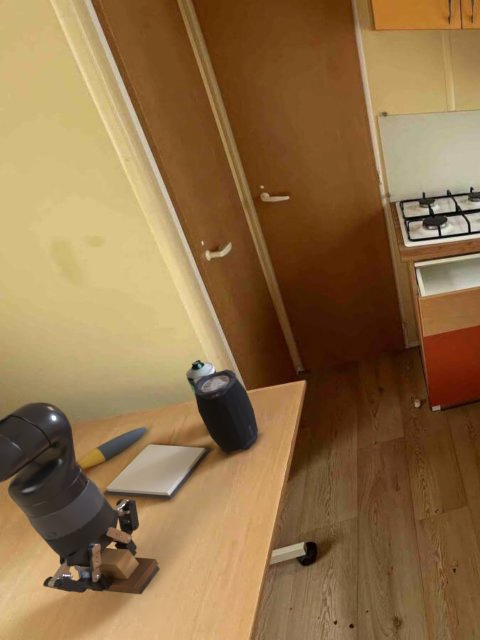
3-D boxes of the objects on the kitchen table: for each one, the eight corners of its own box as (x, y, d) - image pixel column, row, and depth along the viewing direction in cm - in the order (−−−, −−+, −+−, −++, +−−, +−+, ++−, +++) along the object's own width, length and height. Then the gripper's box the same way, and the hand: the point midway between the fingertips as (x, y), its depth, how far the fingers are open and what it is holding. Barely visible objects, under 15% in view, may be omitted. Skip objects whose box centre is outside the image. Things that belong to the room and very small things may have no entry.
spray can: (230, 429, 105) (203, 369, 96) (206, 432, 104) (176, 371, 95) (239, 412, 110) (214, 353, 101) (216, 415, 109) (189, 355, 100)
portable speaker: (211, 447, 101) (181, 386, 92) (250, 420, 108) (226, 361, 99) (230, 464, 97) (201, 402, 88) (269, 435, 104) (246, 375, 95)
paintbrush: (138, 426, 106) (130, 412, 103) (151, 433, 104) (143, 419, 102) (36, 497, 90) (23, 482, 87) (49, 506, 88) (36, 491, 86)
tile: (104, 494, 90) (101, 490, 90) (150, 446, 101) (148, 442, 100) (170, 499, 89) (167, 495, 89) (210, 450, 100) (208, 446, 99)
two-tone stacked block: (141, 596, 73) (123, 572, 69) (85, 590, 73) (64, 567, 70) (161, 567, 77) (145, 544, 73) (108, 563, 77) (90, 539, 74)
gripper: (92, 469, 72) (133, 527, 80) (-3, 560, 60) (56, 618, 68) (133, 472, 72) (170, 530, 80) (46, 564, 59) (99, 623, 67)
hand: (117, 570), depth 74 cm, fingers closed on two-tone stacked block, 4 cm apart
